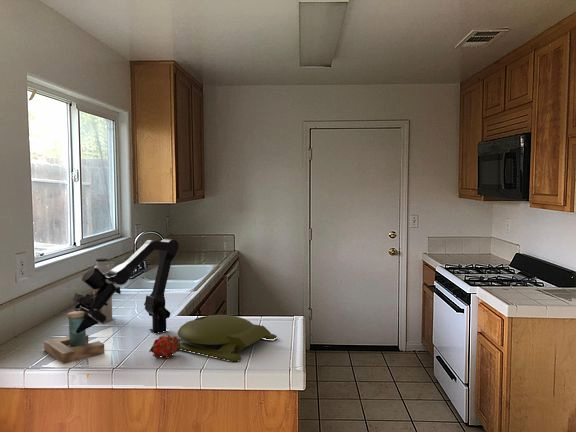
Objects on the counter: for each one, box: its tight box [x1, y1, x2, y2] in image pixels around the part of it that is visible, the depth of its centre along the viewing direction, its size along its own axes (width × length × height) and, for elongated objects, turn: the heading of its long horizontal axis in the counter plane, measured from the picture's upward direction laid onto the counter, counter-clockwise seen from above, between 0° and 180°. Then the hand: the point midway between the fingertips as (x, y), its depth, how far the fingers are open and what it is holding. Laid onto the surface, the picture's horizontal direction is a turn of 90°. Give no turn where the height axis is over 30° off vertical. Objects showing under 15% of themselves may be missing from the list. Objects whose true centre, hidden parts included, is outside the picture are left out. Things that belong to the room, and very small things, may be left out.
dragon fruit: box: [148, 334, 182, 359], centre depth 179 cm, size 8×8×12 cm
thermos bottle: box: [92, 257, 113, 323], centre depth 225 cm, size 8×8×28 cm
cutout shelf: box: [43, 333, 105, 364], centre depth 183 cm, size 15×19×4 cm
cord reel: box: [66, 310, 87, 348], centre depth 184 cm, size 6×6×13 cm
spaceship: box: [177, 314, 278, 362], centre depth 194 cm, size 35×31×10 cm
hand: (73, 331), depth 183 cm, fingers closed on cord reel, 5 cm apart
